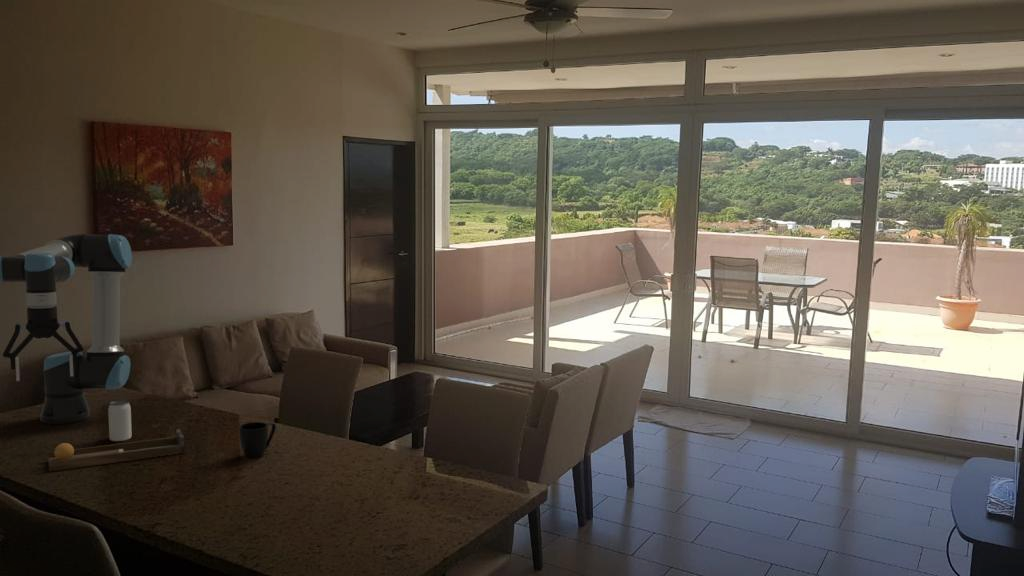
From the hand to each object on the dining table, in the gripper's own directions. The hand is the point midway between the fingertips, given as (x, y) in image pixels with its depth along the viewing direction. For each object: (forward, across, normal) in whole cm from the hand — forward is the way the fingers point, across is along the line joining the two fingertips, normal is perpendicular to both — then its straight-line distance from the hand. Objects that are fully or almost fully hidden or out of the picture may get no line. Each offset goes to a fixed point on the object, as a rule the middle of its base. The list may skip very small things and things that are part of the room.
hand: (45, 377), depth 231 cm
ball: (+21, +4, -7) cm, 22 cm away
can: (+25, +20, +12) cm, 34 cm away
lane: (+25, +18, -7) cm, 31 cm away
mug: (+25, +56, -24) cm, 65 cm away
